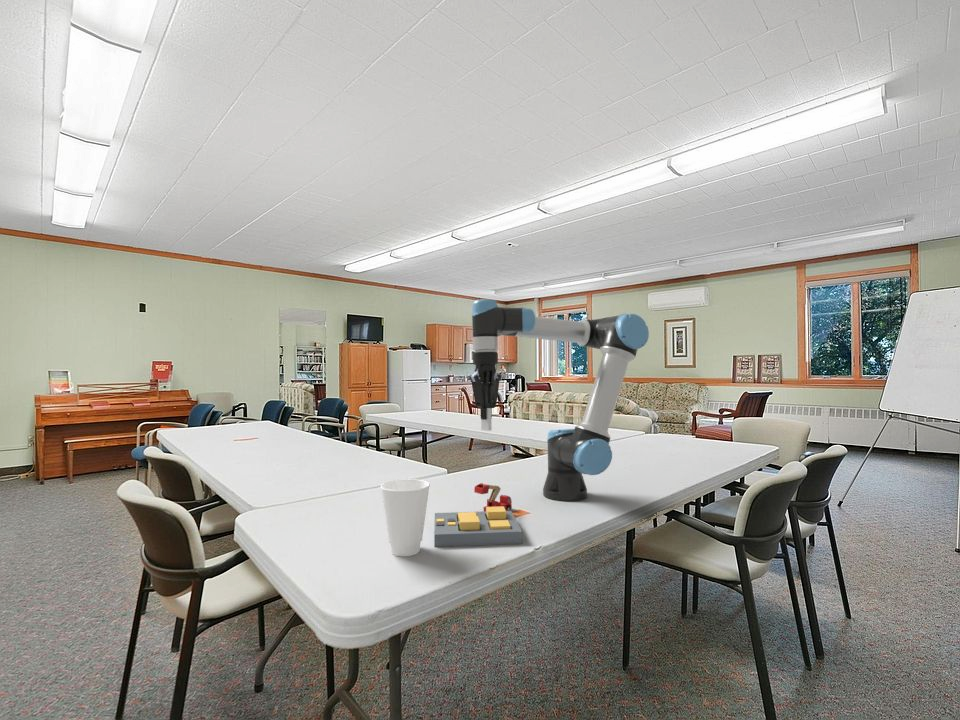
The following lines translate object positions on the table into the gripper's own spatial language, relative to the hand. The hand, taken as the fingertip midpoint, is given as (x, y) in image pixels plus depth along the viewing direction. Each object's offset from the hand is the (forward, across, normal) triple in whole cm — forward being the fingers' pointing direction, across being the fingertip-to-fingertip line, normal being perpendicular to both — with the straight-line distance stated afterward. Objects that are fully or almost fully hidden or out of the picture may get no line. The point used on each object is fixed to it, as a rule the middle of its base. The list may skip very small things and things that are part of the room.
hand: (486, 430), depth 143 cm
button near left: (+25, +12, +13) cm, 31 cm away
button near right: (+24, +18, +7) cm, 31 cm away
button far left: (+24, +6, +8) cm, 26 cm away
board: (+26, +13, +6) cm, 30 cm away
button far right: (+25, +12, +2) cm, 28 cm away
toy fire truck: (+26, -4, 0) cm, 26 cm away
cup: (+26, +34, +1) cm, 42 cm away
